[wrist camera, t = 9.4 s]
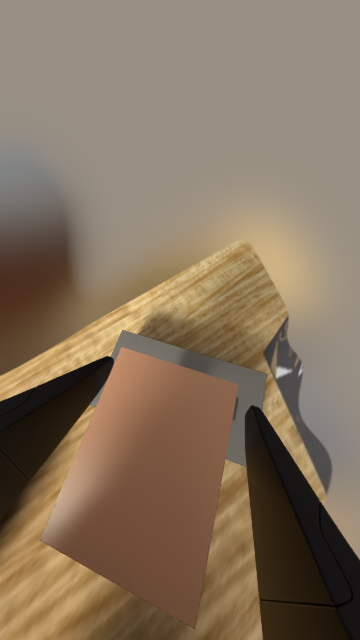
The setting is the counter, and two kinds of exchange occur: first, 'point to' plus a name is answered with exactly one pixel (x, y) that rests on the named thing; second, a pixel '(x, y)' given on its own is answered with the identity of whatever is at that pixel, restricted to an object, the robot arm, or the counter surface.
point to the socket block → (245, 378)
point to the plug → (148, 482)
